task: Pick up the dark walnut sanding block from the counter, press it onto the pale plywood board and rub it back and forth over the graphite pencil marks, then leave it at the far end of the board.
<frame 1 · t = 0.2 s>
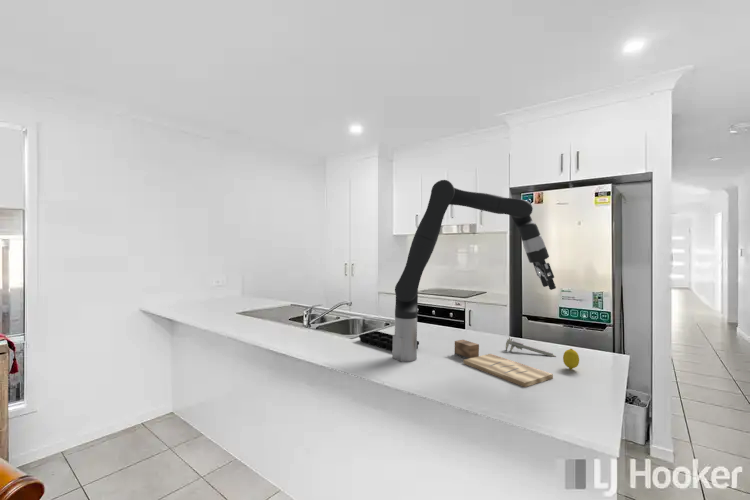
hand: (549, 287, 146), 31 cm above the countertop, tool tilted 20°, fingers open, 8 cm apart
sanding block: (466, 356, 157), on the countertop
egg carton: (388, 346, 173), on the countertop
caliper: (530, 354, 163), on the countertop
lemon: (570, 369, 143), on the countertop
plywood board: (505, 370, 140), on the countertop
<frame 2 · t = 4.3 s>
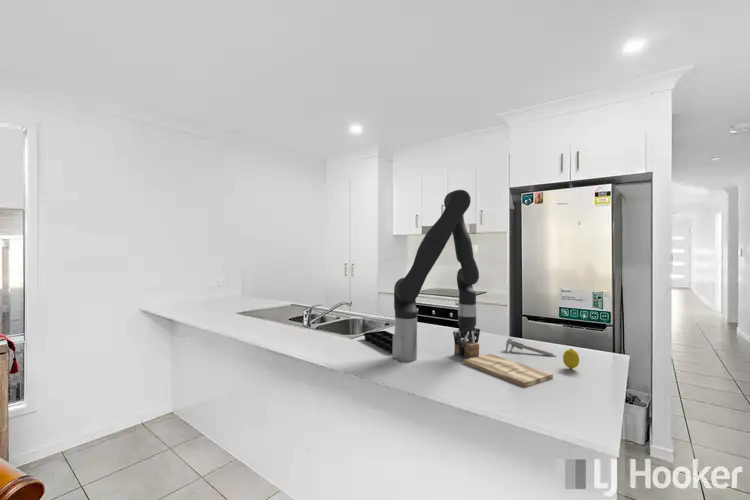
hand: (466, 354, 157), 1 cm above the countertop, tool pointing down, fingers closed on sanding block, 5 cm apart
sanding block: (466, 356, 157), on the countertop, touching gripper
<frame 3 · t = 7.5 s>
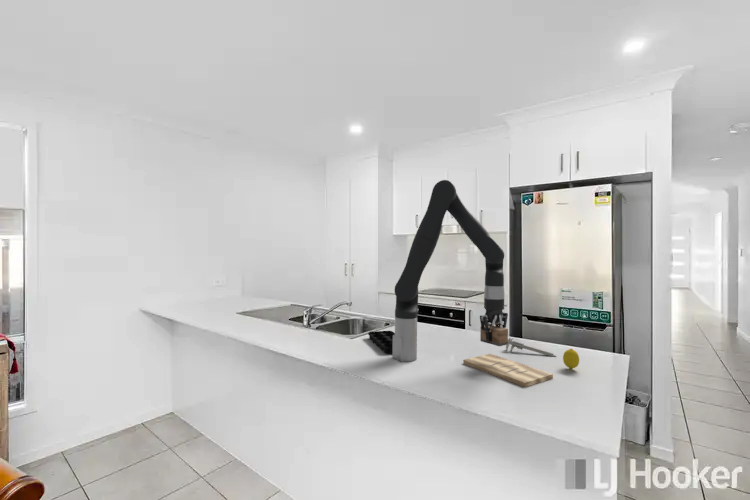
hand: (493, 340, 145), 10 cm above the countertop, tool pointing down, fingers closed on sanding block, 5 cm apart
sanding block: (493, 342, 145), point 9 cm above the countertop, touching gripper
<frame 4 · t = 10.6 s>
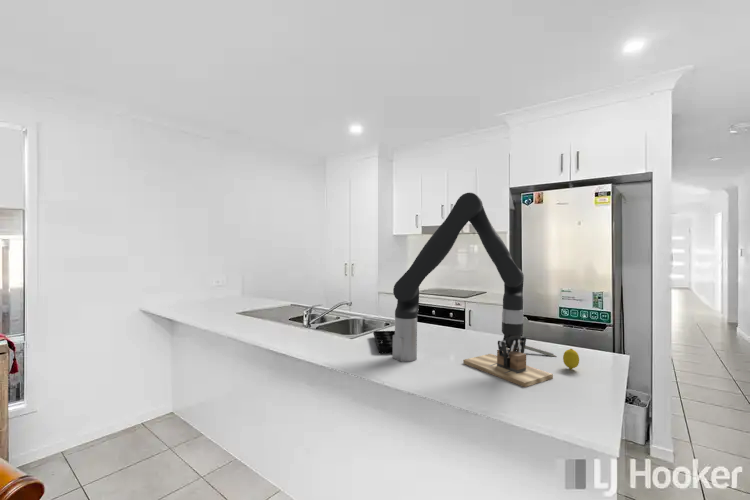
hand: (511, 366, 138), 2 cm above the countertop, tool pointing down, fingers closed on sanding block, 5 cm apart
sanding block: (511, 367, 139), point 2 cm above the countertop, touching gripper
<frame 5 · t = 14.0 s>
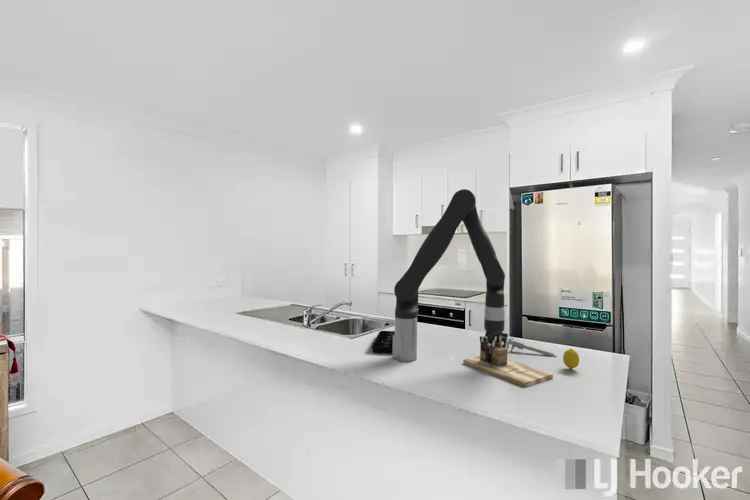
hand: (493, 360, 145), 2 cm above the countertop, tool pointing down, fingers closed on sanding block, 5 cm apart
sanding block: (493, 362, 145), point 2 cm above the countertop, touching gripper
when the fingers open (2 cm above the countertop, at t = 17.2 s): sanding block stays where it is, resting on plywood board.
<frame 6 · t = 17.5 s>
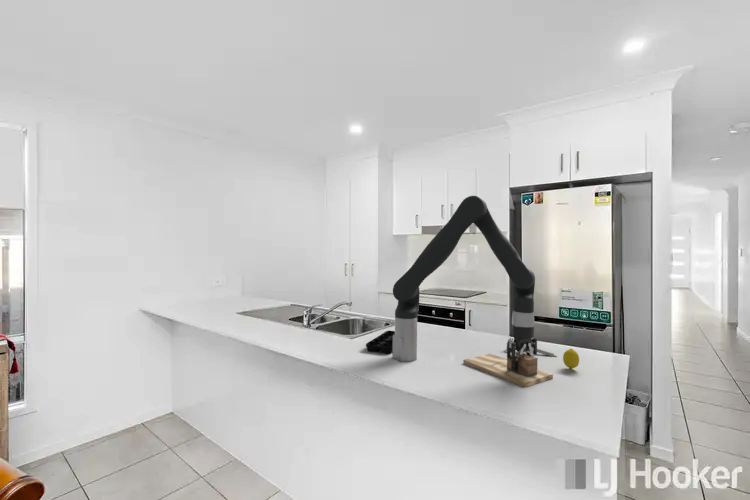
hand: (521, 368, 134), 3 cm above the countertop, tool pointing down, fingers open, 8 cm apart
sanding block: (521, 372, 134), point 2 cm above the countertop, touching plywood board
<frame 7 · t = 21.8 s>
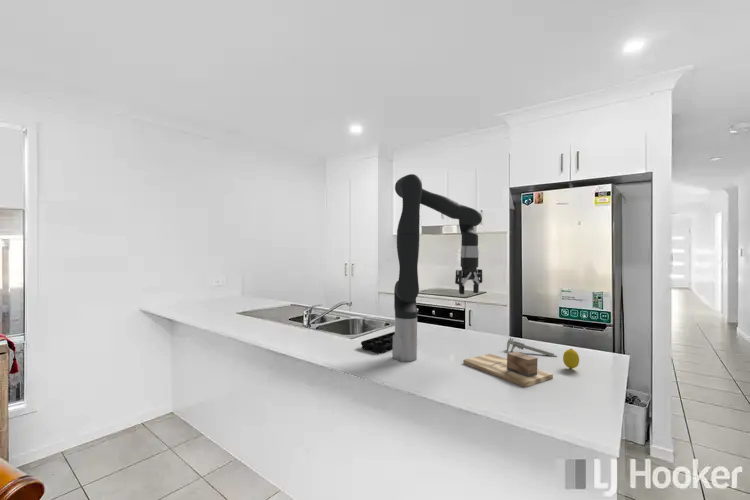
hand: (468, 293, 161), 26 cm above the countertop, tool pointing down, fingers open, 8 cm apart
at the end: sanding block inside the target area (0.4 cm from its centre), point 1.5 cm above the countertop; sanding block tilted 0°; the gripper is holding nothing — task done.
